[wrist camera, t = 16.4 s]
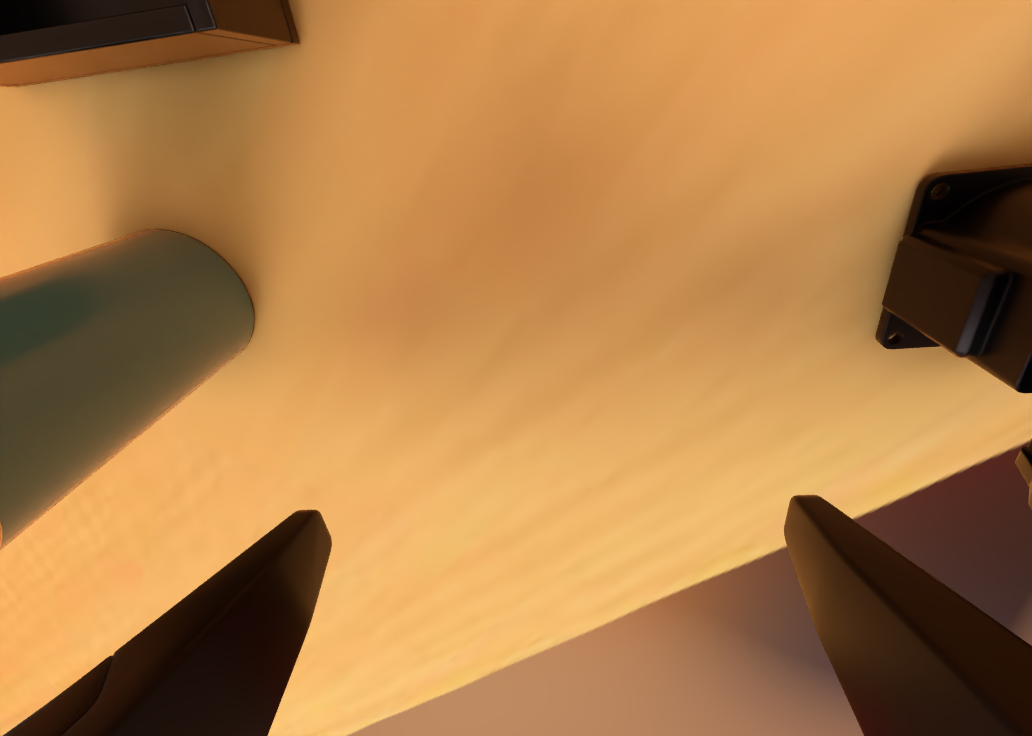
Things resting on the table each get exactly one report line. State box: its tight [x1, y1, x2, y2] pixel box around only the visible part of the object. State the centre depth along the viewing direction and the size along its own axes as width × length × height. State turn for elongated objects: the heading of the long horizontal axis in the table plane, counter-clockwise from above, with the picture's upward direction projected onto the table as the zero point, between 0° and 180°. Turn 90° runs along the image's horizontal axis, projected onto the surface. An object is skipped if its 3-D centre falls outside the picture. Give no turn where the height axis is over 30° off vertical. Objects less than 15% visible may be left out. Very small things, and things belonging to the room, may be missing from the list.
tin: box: [0, 229, 254, 550], centre depth 16 cm, size 6×6×12 cm
